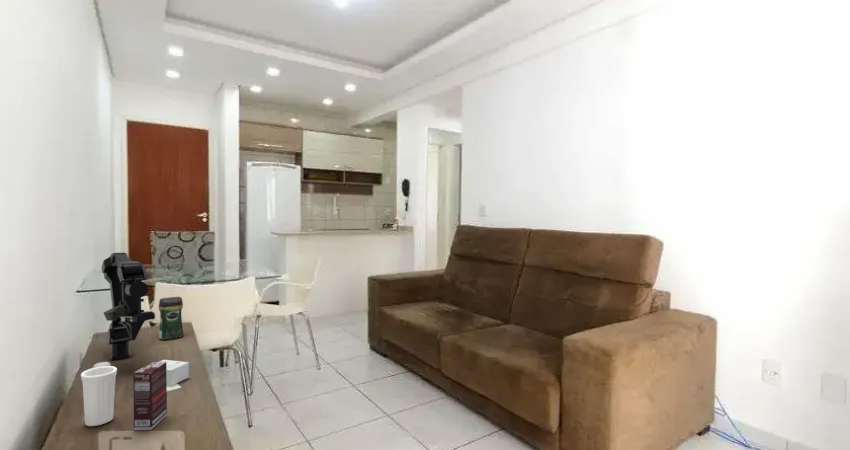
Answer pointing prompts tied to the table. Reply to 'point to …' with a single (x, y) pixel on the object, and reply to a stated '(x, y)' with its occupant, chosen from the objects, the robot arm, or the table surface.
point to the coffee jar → (170, 318)
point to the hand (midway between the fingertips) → (133, 339)
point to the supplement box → (150, 395)
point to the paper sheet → (173, 387)
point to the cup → (98, 394)
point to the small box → (176, 371)
